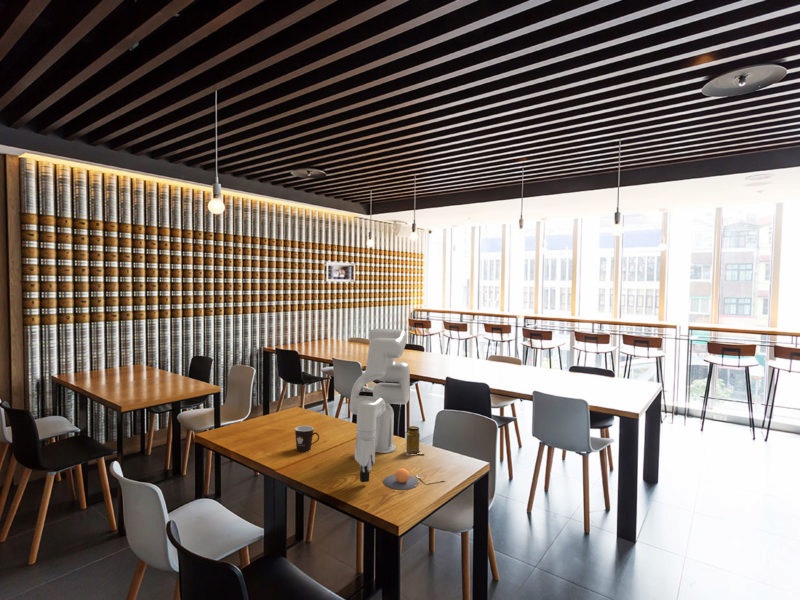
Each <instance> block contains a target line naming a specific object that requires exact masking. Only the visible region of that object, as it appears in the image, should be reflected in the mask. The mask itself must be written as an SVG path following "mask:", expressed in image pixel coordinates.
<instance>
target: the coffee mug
mask: <svg viewBox="0 0 800 600" xmlns="http://www.w3.org/2000/svg"><path fill="white" fill-rule="evenodd" d="M314 430H315V428H314V427H313V426H310V425H300V426H296V427H295V428H294V433H295V445H296V451H297V452H298V451H299V453H307V452H306V451H308V452H310V451H311V449H312V445H314V444H315V443H317V442H318V441H320V435H319V433H318V432H314ZM314 435H317V439H316V440H315V441H314V442H313V437H314ZM309 450H310V451H309Z"/></svg>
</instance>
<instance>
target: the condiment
mask: <svg viewBox="0 0 800 600" xmlns="http://www.w3.org/2000/svg"><path fill="white" fill-rule="evenodd" d="M405 447H406V449H404V452H405V454H406V455H405V456H410V455H409V454H417V453H419V450H420V428H419V426H415V425H410V426H408V428H407V433H406V446H405ZM406 451H407V452H406Z"/></svg>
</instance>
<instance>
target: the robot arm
mask: <svg viewBox="0 0 800 600" xmlns="http://www.w3.org/2000/svg"><path fill="white" fill-rule="evenodd" d="M407 336H408V335H407V333H406V331H405V330H403V329H393V328H391V329H390V328H372V329H371V330H369V332H368V339H369V345H368V353H367V358H366V359H367V360H366V365H365V371H364V372H363V373H362V374H361V375H360V376H359V377H358V378H357V379H356V381H355V382H354V384H353V386H352V389H351V393H350V399H349V400H350V401H349V411H350V412H351V413H352V414H353V415H356V431H355V432H356V437H355V438H356V439H355V446H354V447H355V449H354V459H355V461H356V462H357V464H359V469H360V470H359V481H360V482H361V483H368V482H369V481H370V471H373V469H372V468H373V467H372V466H374V465H375V461H376V453H378V454H380V453H381V454H389V453H393V452H395V451H396V450H397V446H396V445H395V444H394V424H395V423H394V422H395V421H394V419H395V418H394V417H395V414H394V408H393V407H392V406H391V404H394V405H406V404H407V403H408V402H409V400H410V391H411V390H410V388H411V387H410V386H411V385H410V381H411V379H410V378H411V377H410V375H411V374H410V372H411V371H410V367H409V364H408V363H406V362H403V361H395V359H399V358H401V357H402V356H403V353H404V350H405V347H406V345H407V338H408V337H407ZM375 380H379V381H382V382H378V383H376V384H374V387H373V390H372V396H370V395H369V396H367V395H360V392H361V389H362V388H363V387H364V386H365V385H367V384H369V383H371V382H373V381H375Z"/></svg>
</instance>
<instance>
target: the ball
mask: <svg viewBox="0 0 800 600" xmlns="http://www.w3.org/2000/svg"><path fill="white" fill-rule="evenodd" d="M394 475H395V478H396V480H397V481H398V482H399V483H405V482H407V481H408V479H409V476H410V473H409V471H408V470H407V469H406V468H404V467H403V468H401V467H400V468H398V469H396V471H395V474H394Z"/></svg>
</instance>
